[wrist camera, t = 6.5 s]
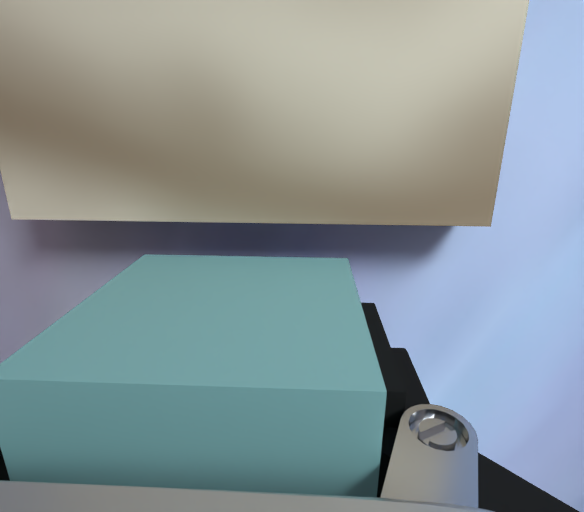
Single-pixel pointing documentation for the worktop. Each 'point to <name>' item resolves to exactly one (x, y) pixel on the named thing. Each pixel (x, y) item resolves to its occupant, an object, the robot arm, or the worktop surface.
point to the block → (203, 382)
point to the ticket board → (257, 109)
